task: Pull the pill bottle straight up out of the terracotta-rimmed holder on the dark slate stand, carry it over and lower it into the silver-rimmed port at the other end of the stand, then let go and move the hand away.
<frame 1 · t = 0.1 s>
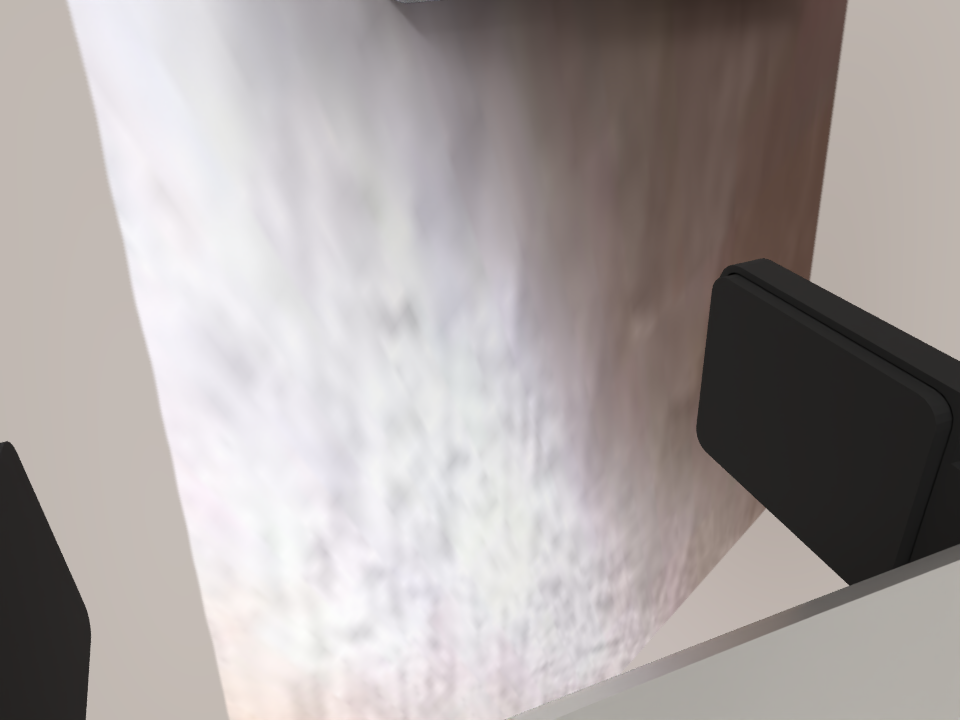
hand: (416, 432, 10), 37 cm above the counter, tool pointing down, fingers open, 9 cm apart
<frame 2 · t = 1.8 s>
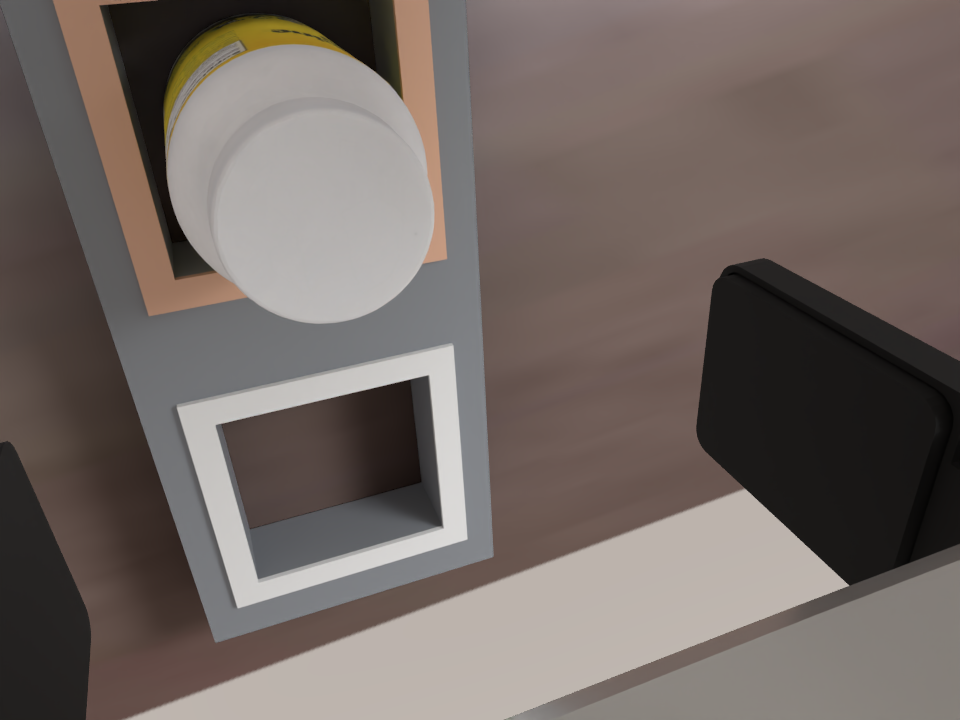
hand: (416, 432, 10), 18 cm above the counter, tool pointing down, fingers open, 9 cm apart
socket stand: (298, 293, 28), on the counter
pill bottle: (264, 111, 25), resting in socket stand
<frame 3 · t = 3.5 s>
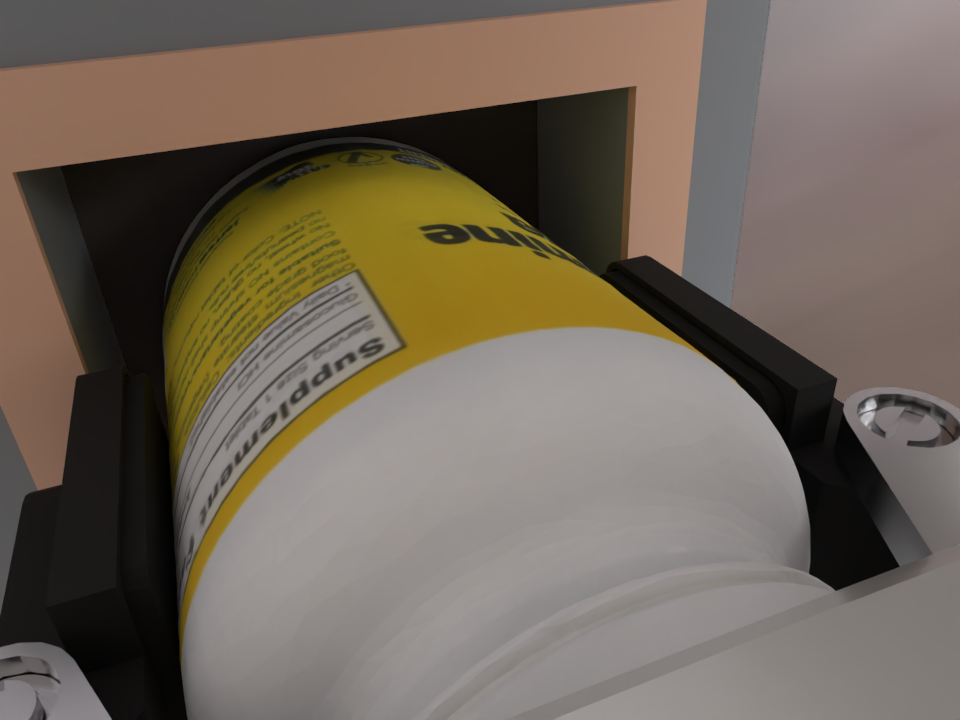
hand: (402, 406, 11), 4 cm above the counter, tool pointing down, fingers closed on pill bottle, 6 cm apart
socket stand: (386, 564, 17), on the counter
pill bottle: (343, 296, 14), resting in socket stand, touching gripper
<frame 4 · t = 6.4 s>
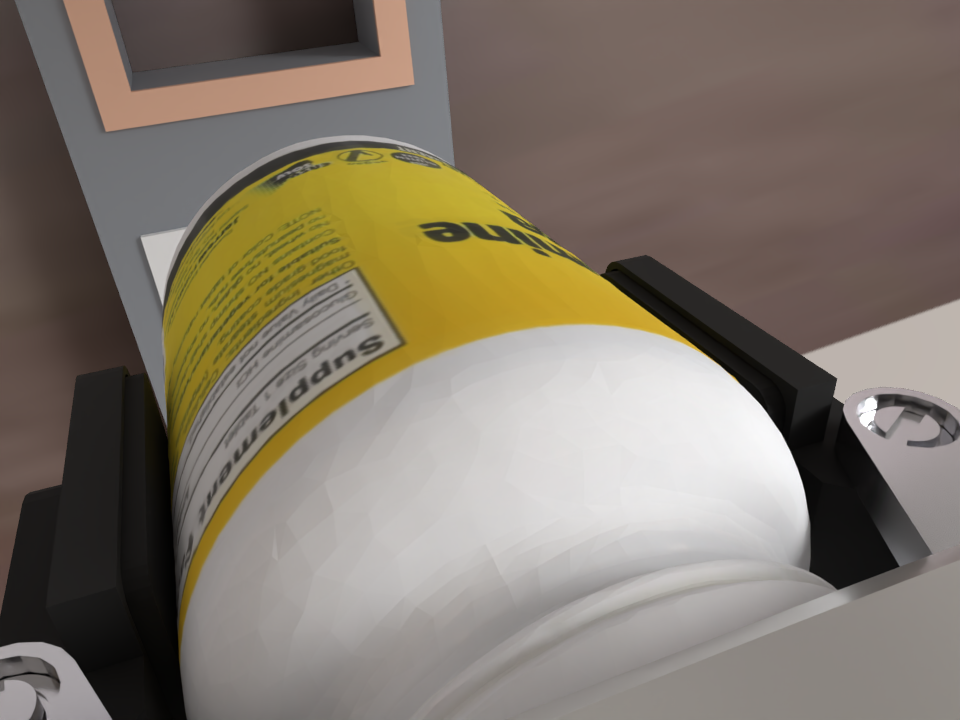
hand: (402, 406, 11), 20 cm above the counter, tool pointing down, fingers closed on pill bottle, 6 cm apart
socket stand: (267, 135, 28), on the counter
pill bottle: (342, 295, 14), point 16 cm above the counter, touching gripper
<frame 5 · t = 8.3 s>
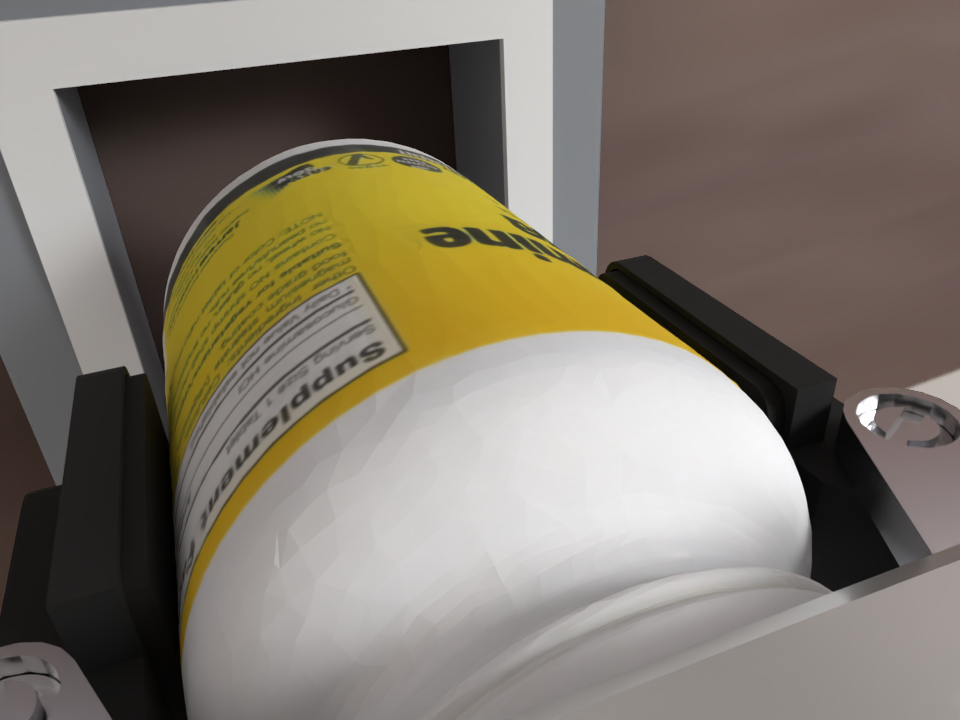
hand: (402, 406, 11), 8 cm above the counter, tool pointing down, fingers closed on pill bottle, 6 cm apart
pill bottle: (343, 298, 14), point 5 cm above the counter, touching gripper
when the fingers open (4 cm above the counter, at t = 9.5 s): pill bottle stays where it is, resting in socket stand.
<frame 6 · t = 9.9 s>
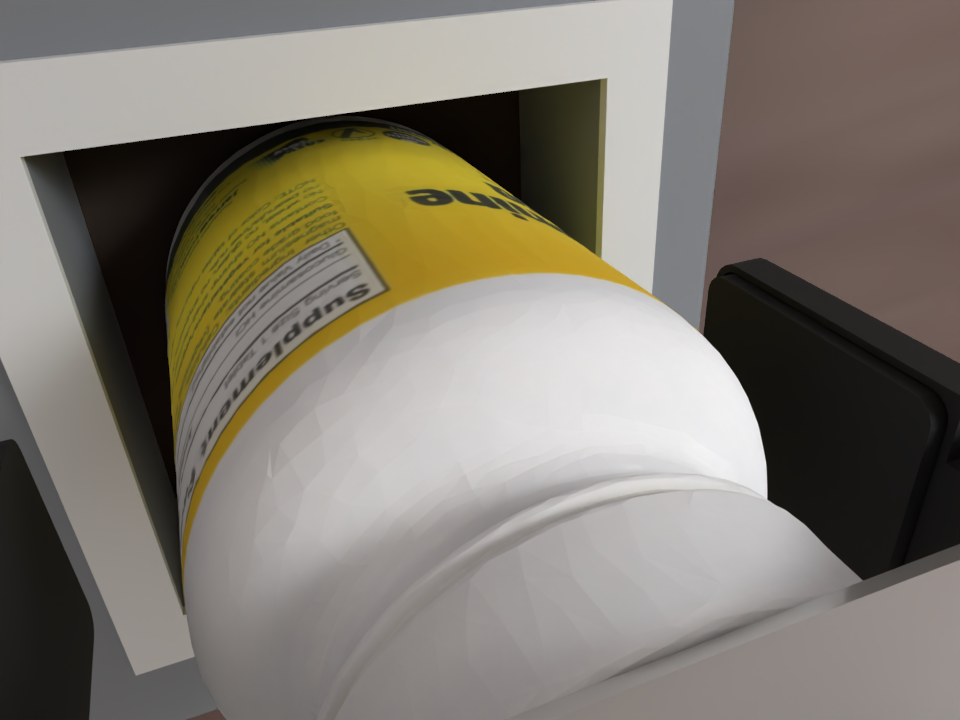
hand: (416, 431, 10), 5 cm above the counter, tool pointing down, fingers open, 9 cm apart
pill bottle: (338, 272, 15), resting in socket stand
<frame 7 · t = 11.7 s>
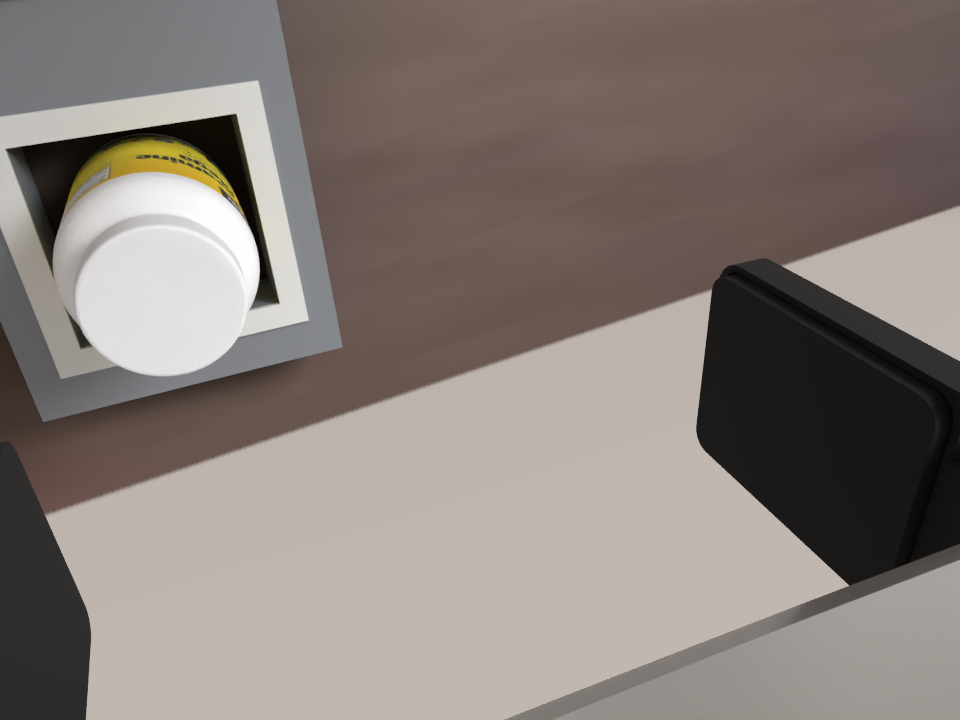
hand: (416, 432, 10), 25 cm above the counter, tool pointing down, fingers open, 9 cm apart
socket stand: (103, 40, 28), on the counter
pill bottle: (155, 206, 31), resting in socket stand
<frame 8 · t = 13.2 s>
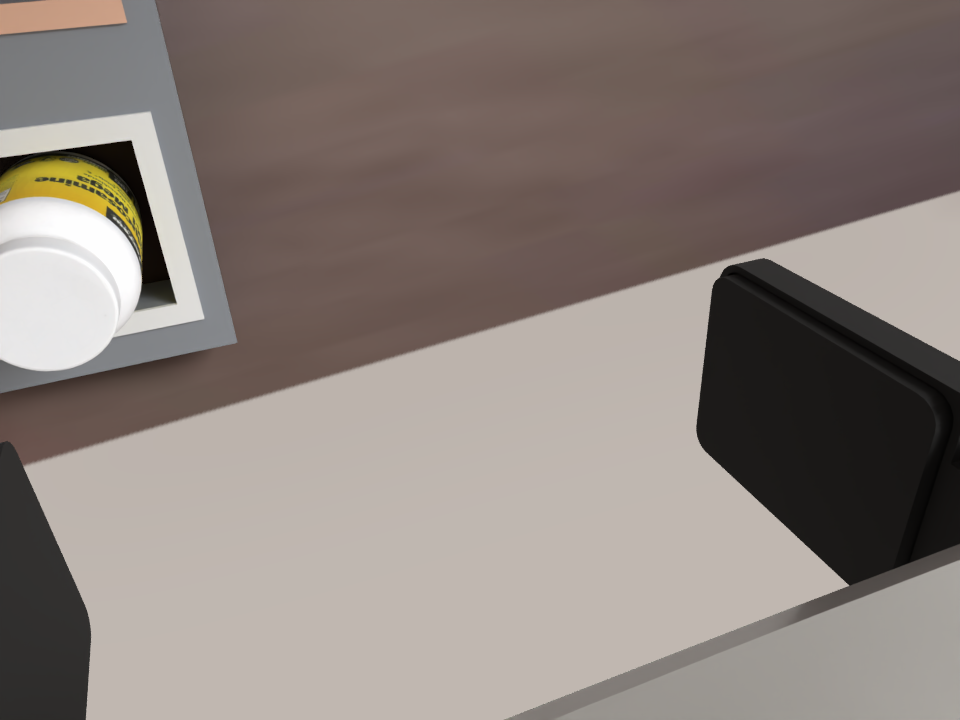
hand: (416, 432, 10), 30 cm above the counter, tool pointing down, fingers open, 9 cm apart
socket stand: (16, 70, 32), on the counter
pill bottle: (68, 213, 36), resting in socket stand
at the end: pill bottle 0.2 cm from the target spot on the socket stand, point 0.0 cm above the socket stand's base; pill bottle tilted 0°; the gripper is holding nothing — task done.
